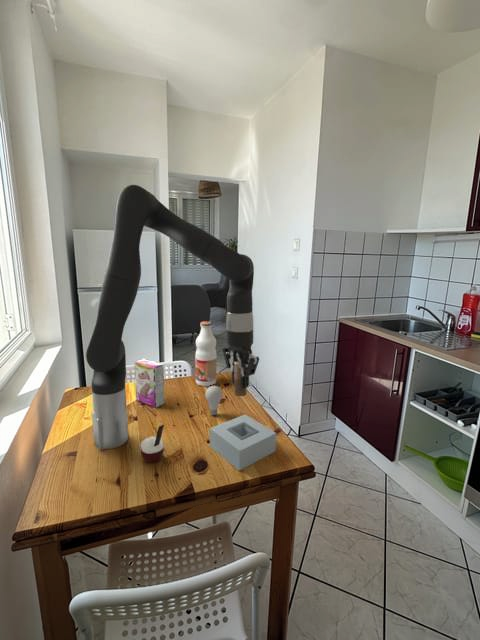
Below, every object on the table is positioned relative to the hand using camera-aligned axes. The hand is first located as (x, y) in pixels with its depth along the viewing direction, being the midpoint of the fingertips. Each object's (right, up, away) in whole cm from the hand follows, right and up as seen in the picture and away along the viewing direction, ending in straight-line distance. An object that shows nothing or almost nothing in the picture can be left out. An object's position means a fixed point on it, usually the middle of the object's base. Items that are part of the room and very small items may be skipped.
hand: (240, 385), depth 91 cm
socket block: (+1, -20, +4) cm, 20 cm away
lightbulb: (-10, -16, +23) cm, 30 cm away
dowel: (0, -3, +1) cm, 3 cm away
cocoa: (-25, -21, -2) cm, 32 cm away
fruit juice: (-16, -10, +52) cm, 55 cm away
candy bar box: (-35, -14, +32) cm, 49 cm away
